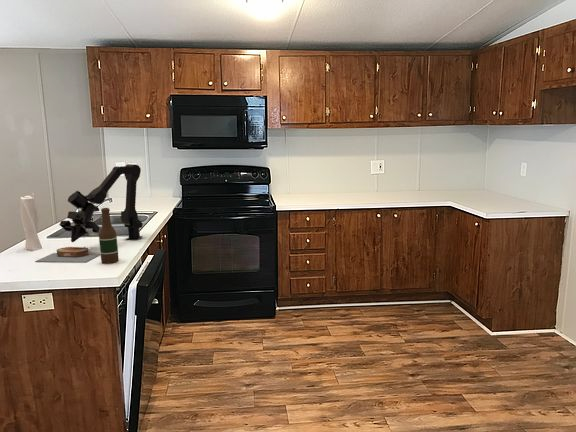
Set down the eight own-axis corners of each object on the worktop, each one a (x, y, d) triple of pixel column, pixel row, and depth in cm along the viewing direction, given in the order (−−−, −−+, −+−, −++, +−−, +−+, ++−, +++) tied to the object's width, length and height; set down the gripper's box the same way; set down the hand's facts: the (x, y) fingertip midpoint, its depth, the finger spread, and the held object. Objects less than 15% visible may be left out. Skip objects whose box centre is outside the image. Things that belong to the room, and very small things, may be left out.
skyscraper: (46, 247, 237) (39, 192, 232) (33, 251, 230) (26, 194, 225) (34, 246, 239) (27, 191, 234) (21, 250, 233) (14, 193, 227)
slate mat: (53, 253, 224) (53, 252, 224) (101, 254, 222) (101, 253, 222) (35, 262, 210) (35, 261, 210) (86, 262, 208) (86, 261, 208)
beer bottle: (97, 261, 209) (92, 208, 205) (114, 258, 214) (110, 206, 210) (105, 265, 204) (100, 210, 199) (122, 261, 209) (117, 208, 204)
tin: (92, 247, 222) (81, 250, 214) (92, 254, 223) (81, 257, 214) (64, 246, 225) (52, 249, 217) (64, 253, 226) (52, 256, 218)
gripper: (59, 203, 224) (44, 231, 216) (93, 204, 219) (79, 233, 211) (73, 217, 233) (59, 244, 225) (105, 218, 228) (92, 246, 220)
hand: (72, 241), depth 220 cm, fingers closed
